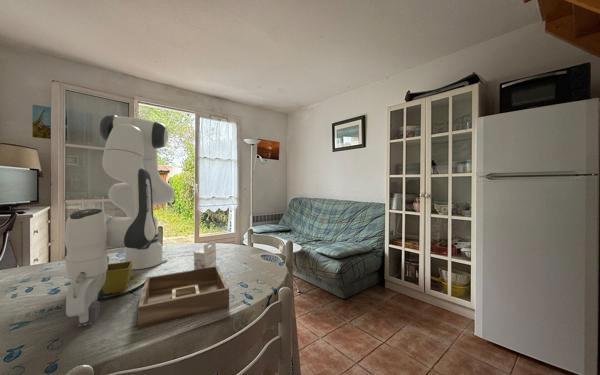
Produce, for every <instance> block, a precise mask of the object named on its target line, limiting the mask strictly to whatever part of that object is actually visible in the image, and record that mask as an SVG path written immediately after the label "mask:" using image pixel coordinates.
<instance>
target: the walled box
mask: <svg viewBox="0 0 600 375" xmlns="http://www.w3.org/2000/svg"><path fill="white" fill-rule="evenodd" d="M142 288H143V289H142V292H141V295H140V299H139V303H138V306H137V327H138V328H137V330H141V329H146V328H149V327H152V326H158V325H163V324H166V323H170V322H174V321H178V320H182V319H187V318H191V317H195V316H198V315H203V314H206V313H212V312H216V311H220V310H224V309H228V308H230V288H229V285H228V284H227V282H226V279H225V278H224V276H223V273H222V272H221V270H220V268H219V266H218V265H216V266H215V267H209V268H202V269H196V270H194V269H191V270H185V271H178V272H172V273H166V274H158V275H153V276H146V279H145V281H144V285H143V287H142Z"/></svg>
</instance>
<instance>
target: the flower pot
mask: <svg viewBox="0 0 600 375" xmlns="http://www.w3.org/2000/svg"><path fill="white" fill-rule="evenodd" d="M132 270H133V269H132V261H128V262H124V261H122V262H115V263H108V270H107V271H106V280H105V284H104V286H103V287H102V289H101V291H102V292H103V293H104V294H105V295H112V294H116V293H117V292H118V293H123V292H125V290H126V288H127V286H128V285H129V281H130V279H131V277H132ZM111 293H112V294H111ZM118 293H117V294H118Z"/></svg>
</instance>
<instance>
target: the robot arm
mask: <svg viewBox="0 0 600 375" xmlns="http://www.w3.org/2000/svg"><path fill="white" fill-rule="evenodd" d="M99 134H100V137H101V138H102V139H103V140H104V141H105V146H104V150H103V154H102V160H101V165H102V169H103V170H104V172H105V173H106V175H108V176H109V177H110V178H113V179H114V180H117V181H118V183H115V184H113V185H111V187H110V188H109V190H108V192H107V193H108V198H109V199H108V200H109V201H110V203H111V204H113V205H114V206H115V207H118V208H119V209H120V210H121V211H122V212H124V214H125V215H126V216H112V215H108V214H106V213H105V212H104V210H103V209H101V208H87V209H80V210H77V211H74V212H72V213H71V214H70V215H68V217H67V219H66V224H65V229H64V245H65V247H66V256H65V277H66V279H68V280H72V283H70V285H69V286H68V287H67V290H66V297H65V298H66V301H65V314H66V316H67V317H68V318H71V317H77V315H78V316H79V322H80V323H84V322H87V321H88V320H89V318H90V313H89V312H88V309H89V307H90V305H91V304H92V302H97V301H98V297H99V293H100V292H101V291H102V287H103V286H104V284H105V280H106V271H107V270H108V264H109V262H110V259H109V258H110V257H109V256H108V251H107V248H113V249H114V248H116V249H117V248H118V249H119V248H124V260H123V262H128V261H132V270H141V269H148V268H152V267H155V266H157V265H158V266H159V265H160V264H162V263H165V262H166V263H167V262H168V258H167V257H166V255H165V254H164V251H163V244H162V243H160V241H159V240H160V234H159V231H158V228H159V227H158V225H159V224H158V222H159V221H158V218H157V216H156V215H155V214H154V207H153V206H157V205H158V206H159V205H166V204H170V203H171V202H172V201H173V200H174V199H175V189H174V187H173V186H172V184H170V183H168V182H167V181H166V180H164V179H163V177H162V176H161V174H160V172H159V168H158V149H161V148H163V147H165V146H166V145H167V142H168V140H169V132H168V128H167V126H166V125H165V123H162V122H159V121H152V120H149V119H144V118H140V117H132V116H130V117H129V116H118V115H115V114H111V115H105V116H104V117H103V118H101V120H100V124H99Z"/></svg>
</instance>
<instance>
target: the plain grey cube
mask: <svg viewBox="0 0 600 375" xmlns="http://www.w3.org/2000/svg"><path fill="white" fill-rule="evenodd" d="M100 311H101V310H100V300H99V301H98V300H97V302H92V304H91V305H90V307H89V309H88V312H89V313H90V318H89V320H88V321H87V322H84V323H80V322H79V316H78V315H77V316H76V327H77V326H78V327H80V326H79V325H83V326H85V325H84V324H88V325H91V324H90V323H92V324H96V323H97V321H98V319H99V318H100V315H101V314H100V313H101V312H100ZM98 317H99V318H98ZM95 322H96V323H95Z"/></svg>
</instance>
